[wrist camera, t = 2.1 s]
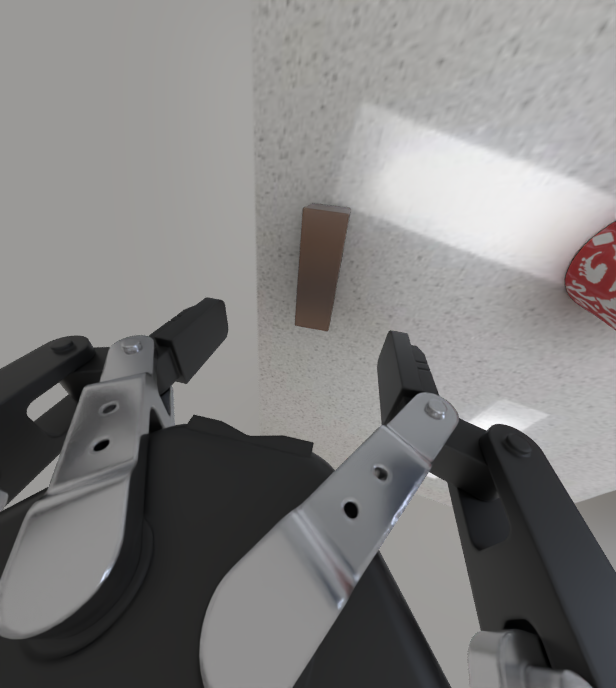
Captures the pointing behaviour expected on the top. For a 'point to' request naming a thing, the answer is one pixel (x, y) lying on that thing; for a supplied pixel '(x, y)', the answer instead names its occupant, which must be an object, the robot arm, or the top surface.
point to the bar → (319, 263)
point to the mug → (595, 276)
